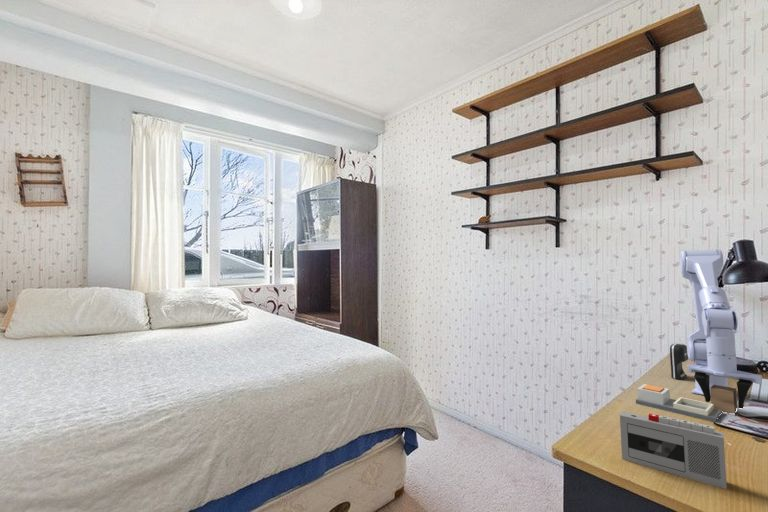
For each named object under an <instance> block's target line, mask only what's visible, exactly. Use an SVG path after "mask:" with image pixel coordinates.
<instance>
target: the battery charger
mask: <svg viewBox="0 0 768 512" xmlns="http://www.w3.org/2000/svg"><path fill="white" fill-rule="evenodd" d="M669 356H670V357H669V359H670V377H671V378H672V379H675V380H684V379H686V378H687V377H688V374H687V373H686V372H685V371H684V368H683V363H685V362H686V361H688V360H689V358H688V354H687V345H685V344H681V343H671V345H670V347H669Z"/></svg>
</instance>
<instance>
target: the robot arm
mask: <svg viewBox="0 0 768 512" xmlns="http://www.w3.org/2000/svg"><path fill="white" fill-rule="evenodd" d="M679 266H680V273H681V275H682V276H681V277H682V278H684V279H687V280H689V284H690V286H691V292H692V298H693V307H694V314H695V315H694V317H695V322H696V323H695V324H696V330H695V331H694V332H692V333H690V334H689V335H688V336H687V337H686V346H687V354H688V360H690V361H691V362H693V364H690V363H689V364H687V365H686V372H687V373H690V374H691V373H692V374H693V373H694V376H693V377H694V380H695V381H694V383H695V385H694V386H695V387H694V388H693V389H691V391H690V392H691V393H692V394H697V395H701V396H704V397H703V398H704V400H705V401H704V402H706V403H711V394H710V388H711V387H712V386H713V385H720V386H725V387H729V380H728V379H731V380H735V381H736V380H737V382H736V390H737V407H738V409H739V408H743V407H744V405H745V402H746V397H747V395H748V392H749V391H750V388H751V387H752V385H753V383H754V384H758V385H762V383H763V381H762V379H763V377H762V376H763V375H762V374H756V373H752V372H748V371H747V372H746V371H743V370H742V371H741V370H737V367H738V366H737V354H736V352H737V350H736V337H735V332H736V331H737V330H738V325H739V324H738V316H737V312H736V310H735V309H734V308H733V306H732V305H730V303H729V299H728V296H727V293H726V290H725V289H723V288H722V287H719V281H718V278H720V275H721V272H722V269H723V267H724V254H723V251H722V250H720V249H719V248H716V249H701V250H682V251H681V252H679ZM744 408H745V407H744ZM744 408H743V409H744Z"/></svg>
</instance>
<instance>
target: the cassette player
mask: <svg viewBox="0 0 768 512" xmlns="http://www.w3.org/2000/svg"><path fill="white" fill-rule="evenodd" d="M619 421H620V423H619V426H620V441H621V443H620V444H621V446H620V447H621V459H622V460H624V459H625V460H624V461H627V460H628V462H630V461H631V462H632V463H634V464H638V465H642V466H645V467H648V468H651V469H656V470H658V471H659V470H660V471H662V472H666V473H670V474H673V475H675V476H680V477H683V478H687V479H691V480H693V481H697V482H701V483H704V484H707V485H709V486H710V485H711V486H715V487H718V488H721V489H725V490H727V489H728V486H727V472H726V469H727V468H726V453H725V439H724V438H725V437H724V435H725V434H724V432H721V431H717V430H715V426H713V425H707V424H702V423H698V422H694V421H693V422H692V421H688V420H683V419H679V418H674V417H670V416H663V415H659V414H654V413H648V416H647V415H646V416H645V415H642V414H636V413H632V412H627V411H623V410H622V411H621V413H620V414H619Z"/></svg>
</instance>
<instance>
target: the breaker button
mask: <svg viewBox="0 0 768 512" xmlns="http://www.w3.org/2000/svg"><path fill="white" fill-rule="evenodd" d="M664 388H665V387H660V386H657V385H651V384H647V385H646V386H644V387H643V389H645V390H650V391H655V392H660V393H661V392H662V391H663V390H664Z"/></svg>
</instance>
